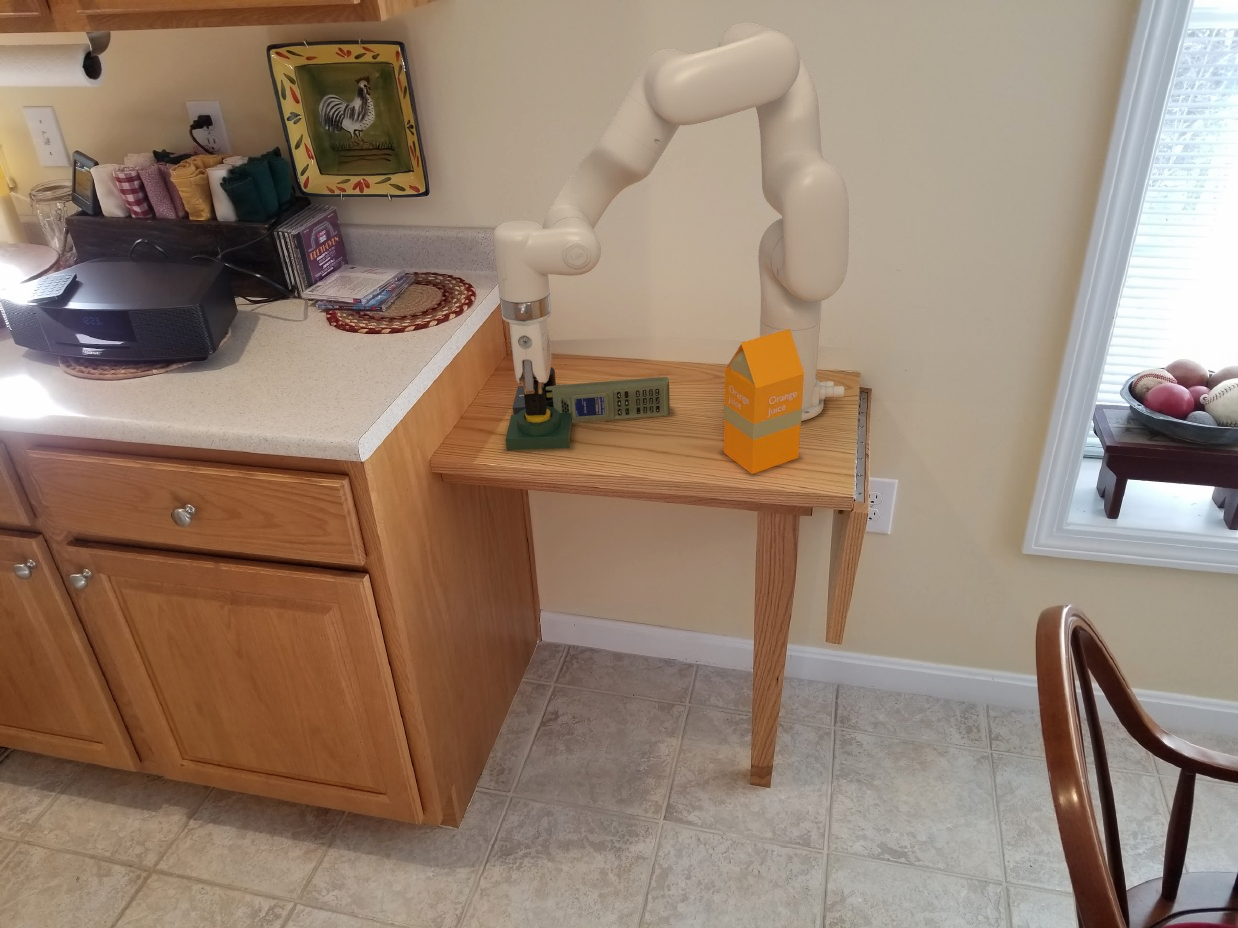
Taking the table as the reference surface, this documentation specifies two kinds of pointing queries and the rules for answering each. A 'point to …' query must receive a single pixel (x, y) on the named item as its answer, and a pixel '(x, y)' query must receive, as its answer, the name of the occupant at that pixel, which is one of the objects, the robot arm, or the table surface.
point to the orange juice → (763, 402)
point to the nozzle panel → (521, 400)
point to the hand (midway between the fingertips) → (536, 412)
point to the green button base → (539, 432)
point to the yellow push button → (539, 417)
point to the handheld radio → (612, 399)
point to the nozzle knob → (550, 382)
